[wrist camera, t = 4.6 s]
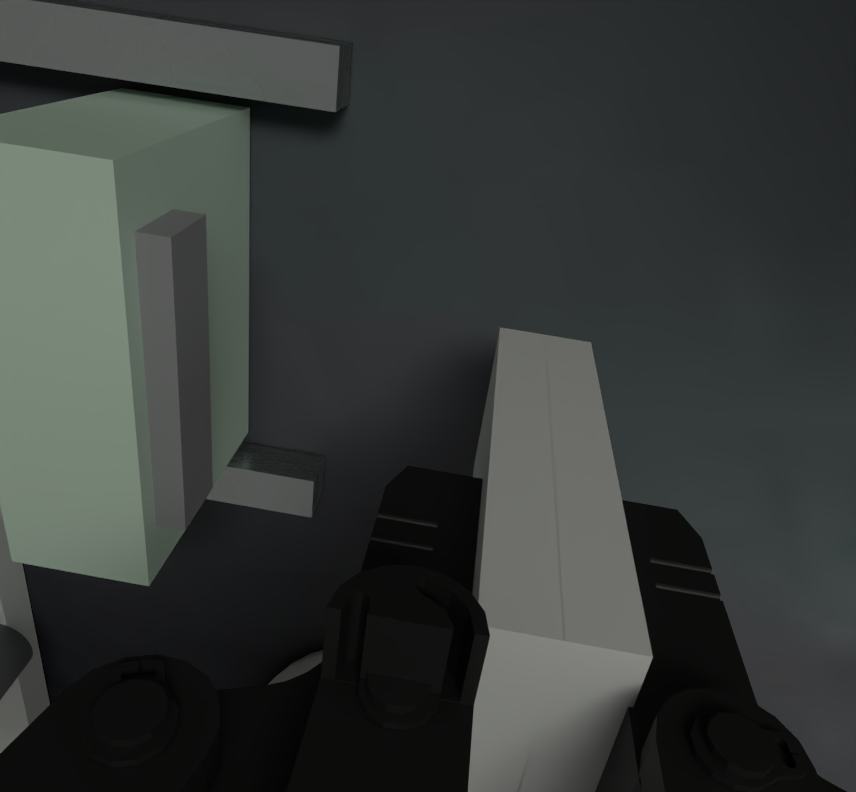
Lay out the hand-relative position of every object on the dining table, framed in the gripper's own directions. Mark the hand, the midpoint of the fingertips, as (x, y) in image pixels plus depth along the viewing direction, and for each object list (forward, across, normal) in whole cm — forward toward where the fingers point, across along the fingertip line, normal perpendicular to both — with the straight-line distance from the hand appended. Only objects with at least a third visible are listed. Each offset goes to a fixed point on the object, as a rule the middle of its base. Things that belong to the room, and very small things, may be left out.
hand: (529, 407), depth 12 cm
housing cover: (+3, -7, 0) cm, 7 cm away
